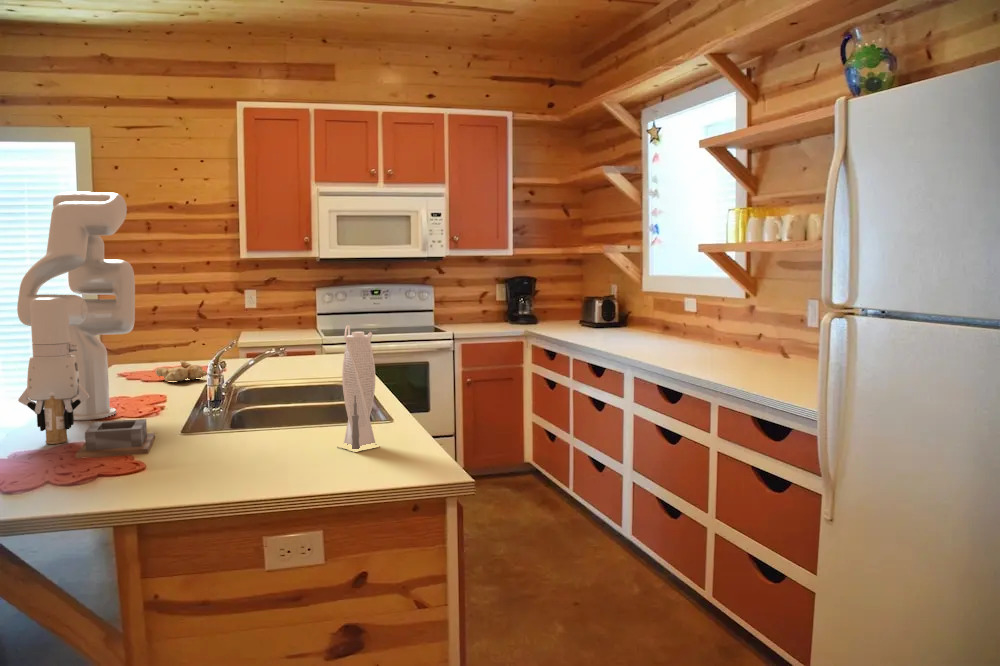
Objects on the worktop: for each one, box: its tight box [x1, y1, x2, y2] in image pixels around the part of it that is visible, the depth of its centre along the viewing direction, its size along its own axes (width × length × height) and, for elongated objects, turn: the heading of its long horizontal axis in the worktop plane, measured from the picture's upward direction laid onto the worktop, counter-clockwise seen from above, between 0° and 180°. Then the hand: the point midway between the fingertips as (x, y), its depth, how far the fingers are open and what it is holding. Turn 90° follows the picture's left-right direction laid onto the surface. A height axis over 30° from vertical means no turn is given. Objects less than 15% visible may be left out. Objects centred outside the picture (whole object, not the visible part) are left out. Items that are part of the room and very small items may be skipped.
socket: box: [75, 418, 156, 459], centre depth 170 cm, size 16×14×6 cm
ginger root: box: [155, 359, 208, 382], centre depth 259 cm, size 16×16×8 cm
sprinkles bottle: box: [44, 392, 69, 445], centre depth 173 cm, size 5×5×13 cm
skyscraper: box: [341, 323, 376, 449], centre depth 170 cm, size 8×8×28 cm
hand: (56, 428), depth 173 cm, fingers closed on sprinkles bottle, 4 cm apart
